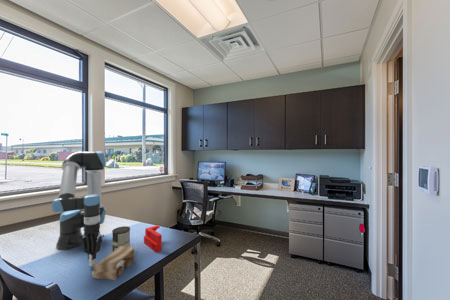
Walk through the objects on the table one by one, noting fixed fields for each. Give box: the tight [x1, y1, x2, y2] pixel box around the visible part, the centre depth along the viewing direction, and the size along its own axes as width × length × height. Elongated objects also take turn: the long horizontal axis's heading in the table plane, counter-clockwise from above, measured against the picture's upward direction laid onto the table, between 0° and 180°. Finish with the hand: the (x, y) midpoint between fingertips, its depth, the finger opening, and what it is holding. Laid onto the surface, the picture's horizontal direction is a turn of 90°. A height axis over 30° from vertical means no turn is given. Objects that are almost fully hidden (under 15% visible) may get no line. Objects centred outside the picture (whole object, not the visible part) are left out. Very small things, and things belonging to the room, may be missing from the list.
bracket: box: [143, 224, 163, 253], centre depth 136 cm, size 18×10×10 cm
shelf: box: [92, 246, 135, 281], centre depth 108 cm, size 12×17×8 cm
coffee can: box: [111, 225, 131, 253], centre depth 128 cm, size 10×10×14 cm
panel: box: [91, 260, 126, 277], centre depth 108 cm, size 12×12×4 cm
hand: (91, 264), depth 110 cm, fingers closed
